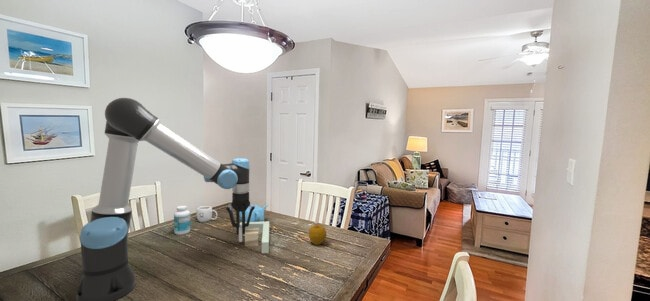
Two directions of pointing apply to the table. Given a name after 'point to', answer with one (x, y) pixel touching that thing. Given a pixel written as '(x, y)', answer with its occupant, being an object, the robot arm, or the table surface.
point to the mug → (205, 213)
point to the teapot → (255, 214)
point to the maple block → (252, 237)
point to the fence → (262, 229)
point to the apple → (317, 234)
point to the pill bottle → (181, 220)
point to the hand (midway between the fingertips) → (240, 240)
